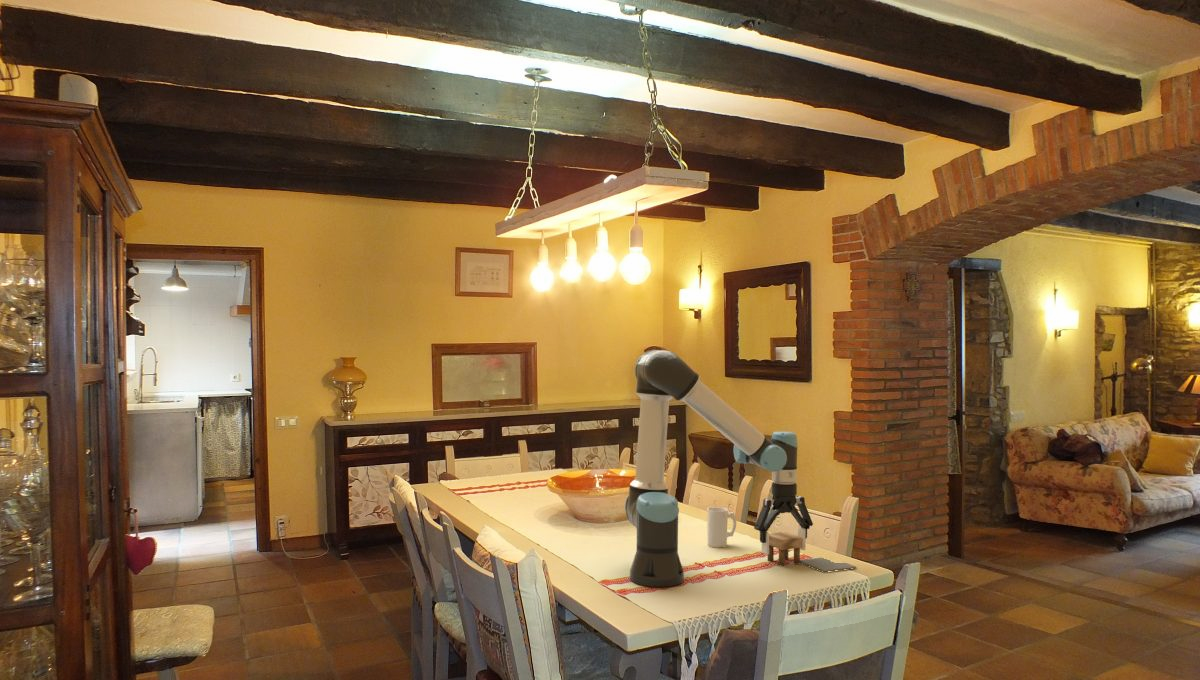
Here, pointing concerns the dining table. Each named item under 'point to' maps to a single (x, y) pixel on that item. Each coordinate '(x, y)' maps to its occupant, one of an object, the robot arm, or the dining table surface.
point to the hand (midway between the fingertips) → (783, 551)
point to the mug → (719, 526)
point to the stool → (785, 546)
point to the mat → (826, 564)
